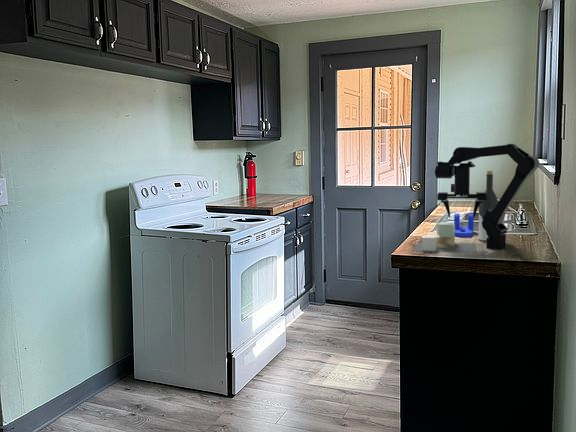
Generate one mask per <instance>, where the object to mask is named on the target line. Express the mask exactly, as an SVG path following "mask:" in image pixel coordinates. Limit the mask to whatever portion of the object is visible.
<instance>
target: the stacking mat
mask: <svg viewBox="0 0 576 432" xmlns="http://www.w3.org/2000/svg"><path fill="white" fill-rule="evenodd" d="M437 235H439V223H436V236H437ZM452 235H455V224H454V223H453V225H452ZM413 251H414V252H423V251H422V241H417V242H416V245H415V247H414V250H413ZM425 252H428V253H429V252H430V253H435V252H436V253H459V254H460V253H464V254H465V253H466V254H467V253H468V254H470V253H471V254H477V253H478V250H477V245H476V243H475V242H455V248H443V247H436V251H425Z"/></svg>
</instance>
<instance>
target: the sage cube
mask: <svg viewBox="0 0 576 432" xmlns="http://www.w3.org/2000/svg"><path fill="white" fill-rule="evenodd" d="M438 224H439V237H452V225H453V224H454V222H439V223H438Z"/></svg>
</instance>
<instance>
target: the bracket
mask: <svg viewBox="0 0 576 432" xmlns="http://www.w3.org/2000/svg"><path fill="white" fill-rule="evenodd" d="M453 215H454V217H453V220H454V221H453V224H455V238H472V237H473V234H474V231H475V230H474V228H475V227H474V226H475V225H474V224H475V223H474V221H475V217H474V218H473V213H468V218H467V219H468V220H467V226H464V227H463V226H461V214H460V213H459V212H457V213H454V214H453ZM471 236H472V237H471Z"/></svg>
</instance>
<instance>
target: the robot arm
mask: <svg viewBox="0 0 576 432" xmlns="http://www.w3.org/2000/svg"><path fill="white" fill-rule="evenodd" d="M453 150H454V151H453V152H452V156H451V157H450V159H449V160H448V161H437V163H436V166H435V170H434V175H435V178H436V179H452V178H453V177H454V183H451V184H450V192H451V193H448V191H441V192H440V191H438V193H437V196H436V197H437V201H440V203H443V204H444V207H445V209H446V212H447V215H448V218H451V211H450V201H449V199H475V200H474V205H473V206H474V207H473V213H472V214H473V218H474V219H475V217H476V214H477V212H478V210H479V205H480V203H483V200H487V194H486V193H485V191H484V192H483V191H479V192H478V191H475V192H476V193H470V184H471V182H470V180H471V179H470V177H471V176H470V175H471V174H470V171H471V169H470V168H476V164H474V163H473V161H472V160H475V159H479V158H481V157H482V158H483V157H492V156H502V155H503V156H505V155H508V156H509V157H510V159H512V160H513V161H514V163H515V164H517V166H516V168H515V172H514V175H513V178H512V179H511V181H510V183H509V185H507V187H506V189H505V191H504V192H503V193H502V195H501V197H500V199H498V203H497V205H496V207H495V208H494V209H489V210H487V211H486V214H485V216H484V217H483V218H482V219H483V221H482V227H483V228H484V229H485V230H486V233H487V236H488V238H486V242H485V248H486V250H487V249H489V250H498V251H499V250H506V247H507V246H506V245H507V243H506V242H507V241H506V240H507V235H506V234H507V232H508V230H509V228H508V227H507V226H506V225H505V224H504V223H503V222H504V219H505V217H506V216H505V215H506V212H507V210H508V208H509V207H510V205H511V204H512V202H513V201H514V199H515V198H516V196H517V194H518V193H519V191H520V190H521V188H522V187H523V185H524V183H525V182H526V181H527V180H528V179H529V178H530V177H531V176H532V175H533V174H534V173H535V171H537V169H538V168H539V167H540V160H539V158H538V157H537V156H534V155H531V154H529V153H528V152H527V151H525V150H523V149H522V148H520V147H519V146H518V145H517V144H515V143H508V144H503V145H493V146H485V147H484V146H483V147H472V146H461V147H460V146H459V147H458V146H457V147H456V148H455V149H453Z"/></svg>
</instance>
